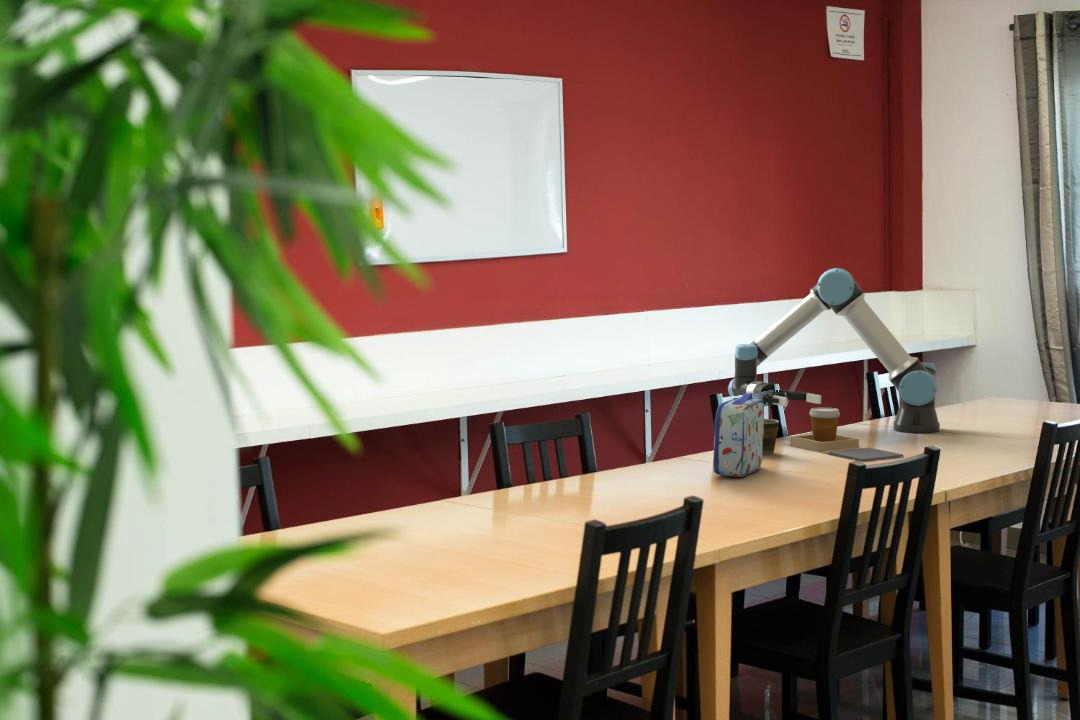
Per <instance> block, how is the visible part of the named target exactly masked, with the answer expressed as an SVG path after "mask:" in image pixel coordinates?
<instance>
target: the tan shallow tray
mask: <svg viewBox="0 0 1080 720" xmlns="http://www.w3.org/2000/svg"><path fill="white" fill-rule="evenodd" d="M789 441H790V442H785V443H784V444H783V445H785V446H789V447H794V448H799V449H803V450H806V451H807V450H808V451H812V452H818V453H822V454H825V455H826V454H827V455H828V452H832V451H841V450H851V449H860V448H862V447H860V439H859V438H856V437H850V436H846V435H841V434H836V439H835V441H828V442H819V441H814V440H813V433H812V434H802V435H800V434H799V435H792V436H791V435H790V438H789Z"/></svg>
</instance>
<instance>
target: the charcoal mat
mask: <svg viewBox="0 0 1080 720" xmlns="http://www.w3.org/2000/svg"><path fill="white" fill-rule="evenodd" d="M827 455H829V456H834V457H839V458H843V459H847V460H851V459H855V460H854V461H857V462H861V463H864V462H870V461H871V462H872V461H878V460H877V459H882V460H886V459H885V458H891V459H896V458H895V457H900V458H902V457H901V456H903V457H904V454H903V453H898V452H892V451H888V450H884V449H878V448H875V447H874V448H873V447H861V448H860V449H851V450H841V451H832V452H828V454H827Z"/></svg>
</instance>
